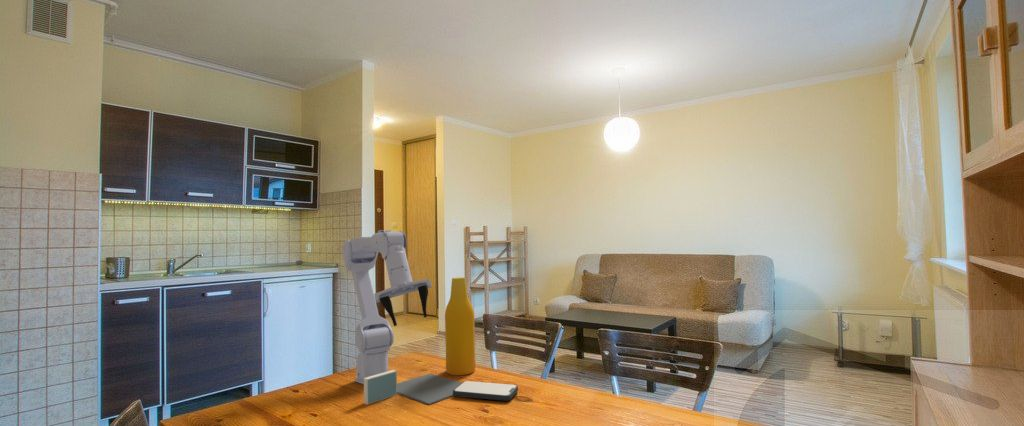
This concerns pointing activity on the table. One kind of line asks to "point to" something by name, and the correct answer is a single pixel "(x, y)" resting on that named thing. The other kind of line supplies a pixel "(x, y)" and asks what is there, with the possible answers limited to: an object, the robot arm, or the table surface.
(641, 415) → the table surface
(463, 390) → the phone case
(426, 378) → the mat
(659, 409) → the table surface
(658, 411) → the table surface
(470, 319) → the beer bottle
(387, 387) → the card deck
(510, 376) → the table surface
